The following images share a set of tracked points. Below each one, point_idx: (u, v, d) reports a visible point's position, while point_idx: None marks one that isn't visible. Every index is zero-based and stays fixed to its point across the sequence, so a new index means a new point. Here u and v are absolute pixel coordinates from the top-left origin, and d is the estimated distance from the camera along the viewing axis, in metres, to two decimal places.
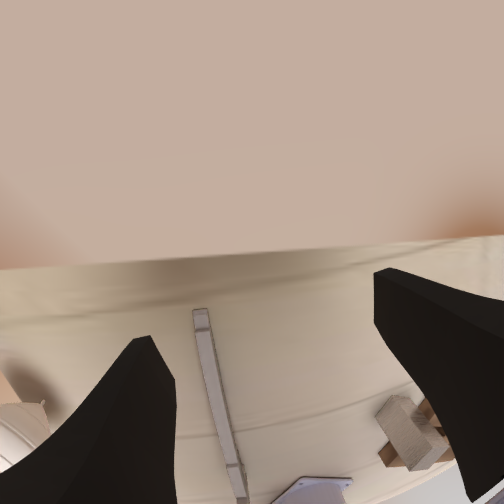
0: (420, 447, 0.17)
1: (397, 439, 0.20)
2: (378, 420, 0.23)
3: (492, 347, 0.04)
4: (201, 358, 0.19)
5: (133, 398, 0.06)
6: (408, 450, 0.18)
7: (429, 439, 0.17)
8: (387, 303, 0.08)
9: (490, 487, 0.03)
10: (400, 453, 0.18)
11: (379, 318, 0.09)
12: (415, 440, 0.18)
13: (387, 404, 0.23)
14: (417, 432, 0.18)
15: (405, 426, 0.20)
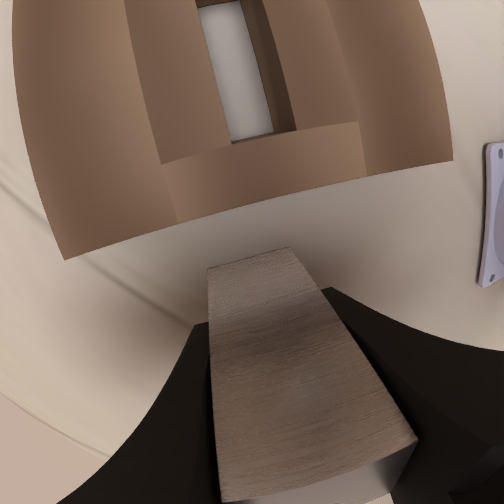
0: None
1: None
2: None
3: (410, 398, 0.04)
4: None
5: None
6: None
7: None
8: None
9: None
10: None
11: None
12: None
13: None
14: None
15: None
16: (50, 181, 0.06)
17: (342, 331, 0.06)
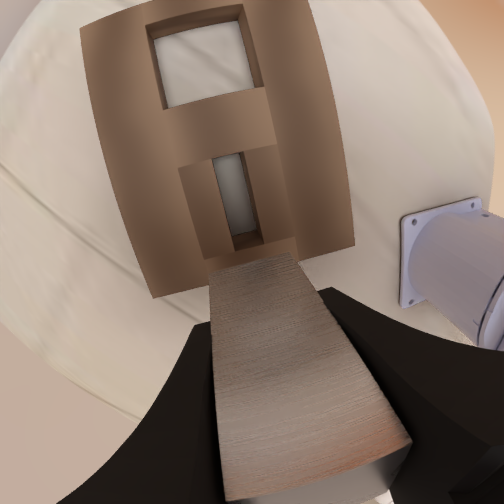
0: None
1: None
2: None
3: (410, 398, 0.04)
4: None
5: (213, 384, 0.06)
6: None
7: None
8: None
9: None
10: None
11: None
12: None
13: None
14: None
15: None
16: (147, 263, 0.15)
17: (341, 337, 0.06)
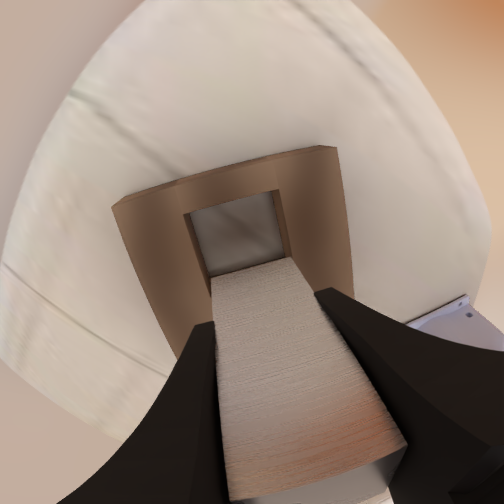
0: None
1: None
2: None
3: (409, 398, 0.04)
4: None
5: (213, 384, 0.06)
6: None
7: None
8: None
9: None
10: None
11: None
12: None
13: None
14: None
15: None
16: None
17: (340, 342, 0.06)
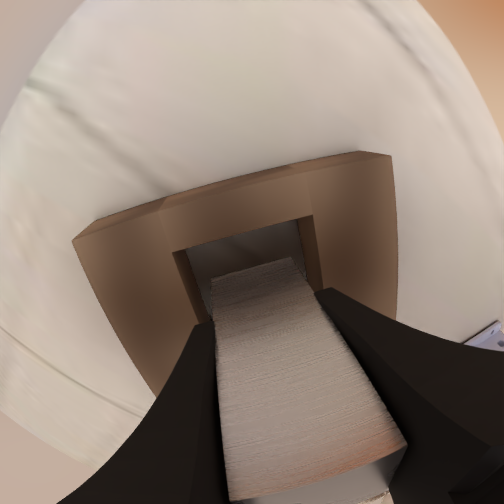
0: None
1: None
2: None
3: (409, 399, 0.04)
4: None
5: (213, 384, 0.06)
6: None
7: None
8: None
9: None
10: None
11: None
12: None
13: None
14: None
15: None
16: None
17: (340, 342, 0.06)
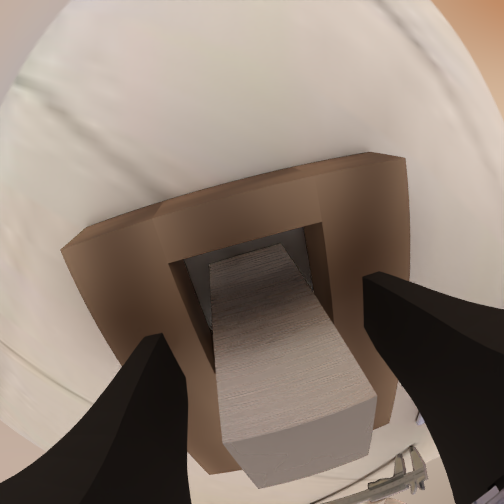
0: None
1: None
2: None
3: (479, 357, 0.04)
4: None
5: (148, 396, 0.06)
6: None
7: None
8: (375, 307, 0.08)
9: (477, 497, 0.03)
10: None
11: (368, 322, 0.09)
12: None
13: None
14: None
15: None
16: (205, 461, 0.14)
17: (320, 312, 0.07)
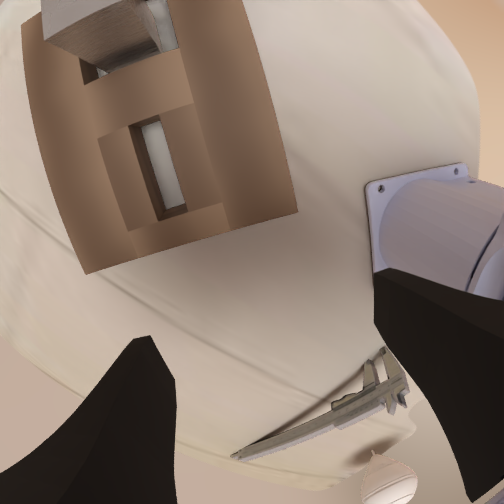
0: (77, 35, 0.07)
1: (133, 38, 0.09)
2: None
3: (493, 347, 0.04)
4: (256, 457, 0.25)
5: (133, 398, 0.06)
6: (112, 28, 0.07)
7: None
8: (387, 303, 0.08)
9: (490, 487, 0.03)
10: (135, 23, 0.08)
11: (379, 318, 0.09)
12: (87, 42, 0.07)
13: None
14: (78, 51, 0.08)
15: (104, 54, 0.09)
16: (76, 237, 0.14)
17: None
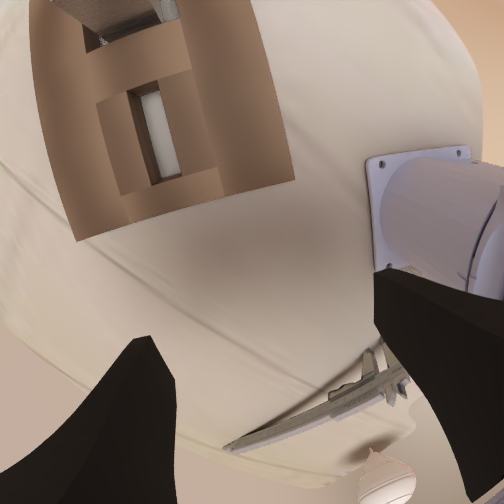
0: None
1: (135, 7, 0.08)
2: None
3: (492, 348, 0.04)
4: (249, 450, 0.25)
5: (133, 398, 0.06)
6: None
7: (62, 3, 0.06)
8: (387, 303, 0.08)
9: (490, 487, 0.03)
10: None
11: (379, 318, 0.09)
12: (91, 7, 0.07)
13: None
14: (81, 17, 0.07)
15: (107, 22, 0.09)
16: (69, 202, 0.13)
17: None
